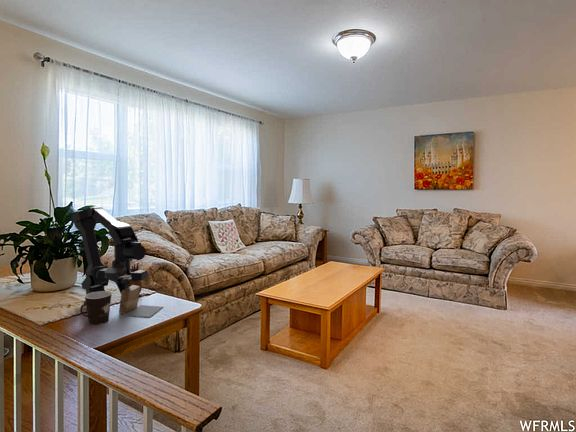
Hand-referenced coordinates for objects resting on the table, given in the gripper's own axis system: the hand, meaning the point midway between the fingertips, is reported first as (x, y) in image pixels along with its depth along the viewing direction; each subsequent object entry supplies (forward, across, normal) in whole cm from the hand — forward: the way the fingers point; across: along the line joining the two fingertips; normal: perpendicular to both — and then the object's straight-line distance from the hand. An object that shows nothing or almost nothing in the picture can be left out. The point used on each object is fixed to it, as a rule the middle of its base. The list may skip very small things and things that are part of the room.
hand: (123, 295), depth 139 cm
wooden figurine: (+6, -6, +18) cm, 20 cm away
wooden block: (+6, +2, 0) cm, 6 cm away
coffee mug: (+6, -3, -13) cm, 15 cm away
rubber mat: (+6, +9, 0) cm, 11 cm away
